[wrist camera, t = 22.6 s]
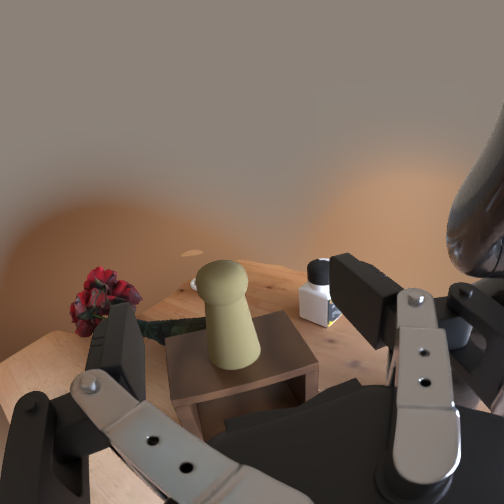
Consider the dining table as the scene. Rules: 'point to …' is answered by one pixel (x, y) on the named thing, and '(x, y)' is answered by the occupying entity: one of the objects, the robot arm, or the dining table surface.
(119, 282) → the carnation
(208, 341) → the cork
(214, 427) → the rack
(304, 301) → the medicine bottle
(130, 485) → the dining table surface
